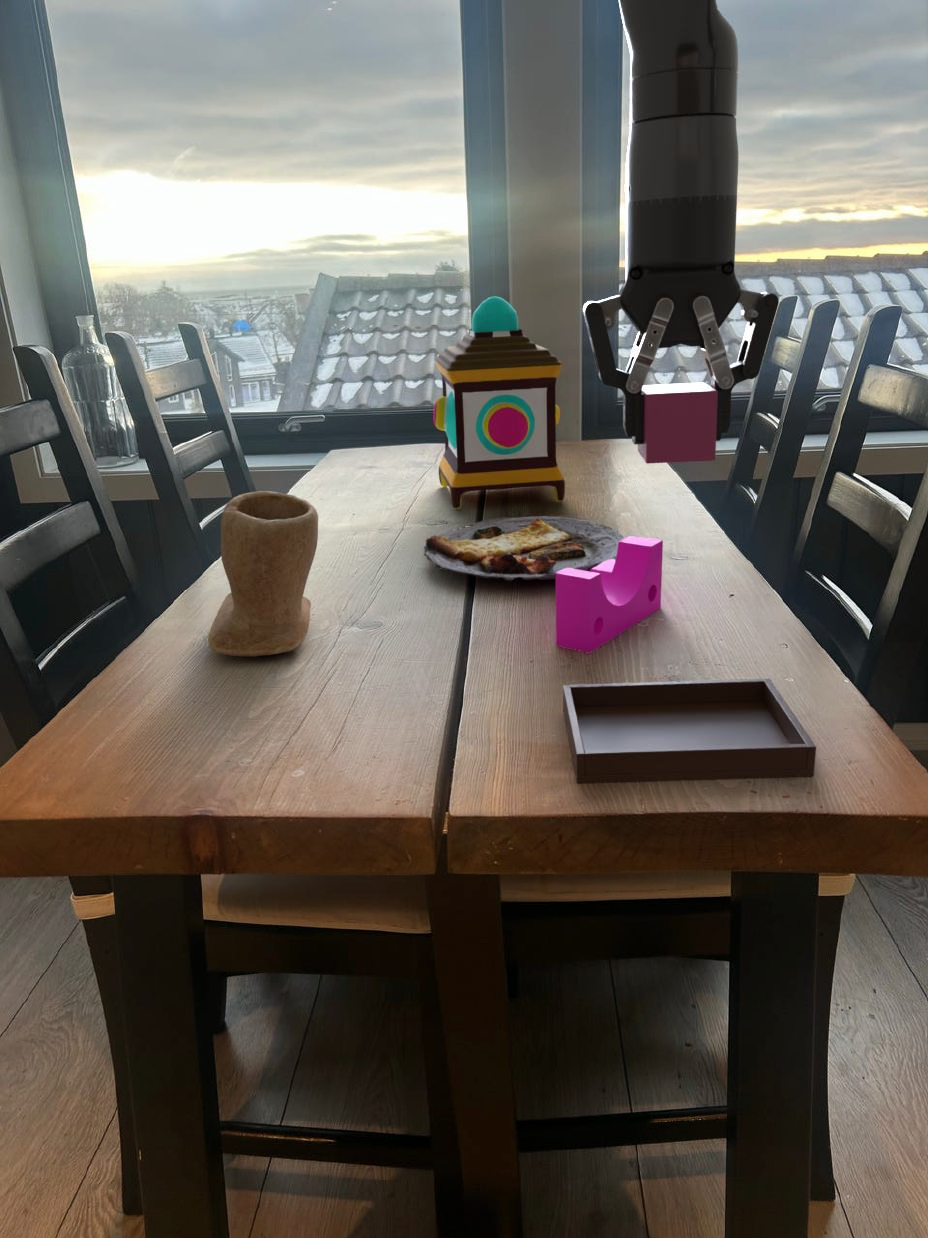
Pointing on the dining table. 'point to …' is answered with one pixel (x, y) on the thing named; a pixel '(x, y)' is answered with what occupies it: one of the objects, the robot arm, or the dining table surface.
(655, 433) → the cube
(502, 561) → the food plate
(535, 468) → the decorative lantern
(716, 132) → the robot arm
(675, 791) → the dining table surface
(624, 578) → the toy block
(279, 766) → the dining table surface
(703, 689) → the tray
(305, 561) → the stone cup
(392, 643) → the dining table surface
